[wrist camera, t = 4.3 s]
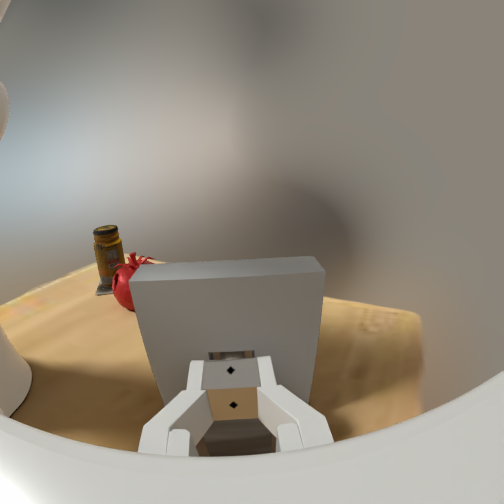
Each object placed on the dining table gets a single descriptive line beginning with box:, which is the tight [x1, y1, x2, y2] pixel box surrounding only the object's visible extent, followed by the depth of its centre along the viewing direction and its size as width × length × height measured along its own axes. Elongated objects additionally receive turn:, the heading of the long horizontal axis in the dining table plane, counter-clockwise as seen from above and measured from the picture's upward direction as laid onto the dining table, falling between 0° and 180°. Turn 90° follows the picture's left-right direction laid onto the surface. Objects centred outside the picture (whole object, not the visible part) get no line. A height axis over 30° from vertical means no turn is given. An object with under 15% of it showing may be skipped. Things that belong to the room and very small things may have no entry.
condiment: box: [93, 225, 125, 295], centre depth 50 cm, size 7×8×12 cm
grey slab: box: [128, 256, 325, 406], centre depth 21 cm, size 3×13×14 cm, turn 94°
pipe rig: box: [195, 350, 310, 457], centre depth 28 cm, size 24×14×9 cm, turn 4°
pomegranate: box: [112, 252, 154, 310], centre depth 45 cm, size 10×10×9 cm
